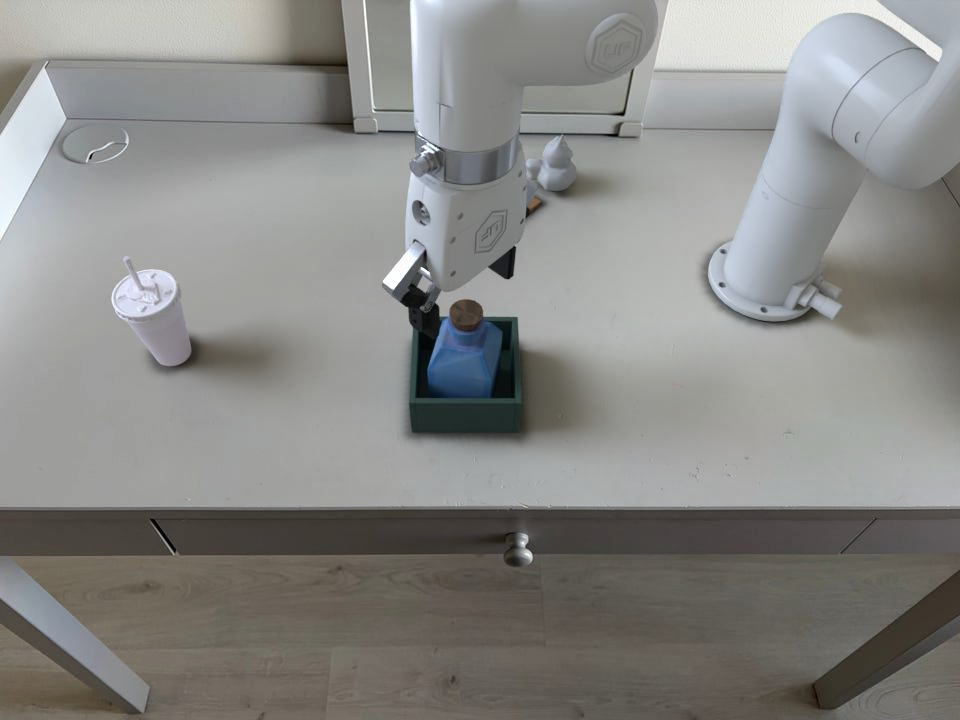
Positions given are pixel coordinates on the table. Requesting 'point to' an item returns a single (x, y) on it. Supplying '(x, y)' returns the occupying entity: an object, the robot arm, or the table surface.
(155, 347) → the smoothie
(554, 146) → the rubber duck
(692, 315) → the table surface
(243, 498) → the table surface
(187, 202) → the table surface
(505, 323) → the bin
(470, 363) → the perfume bottle
